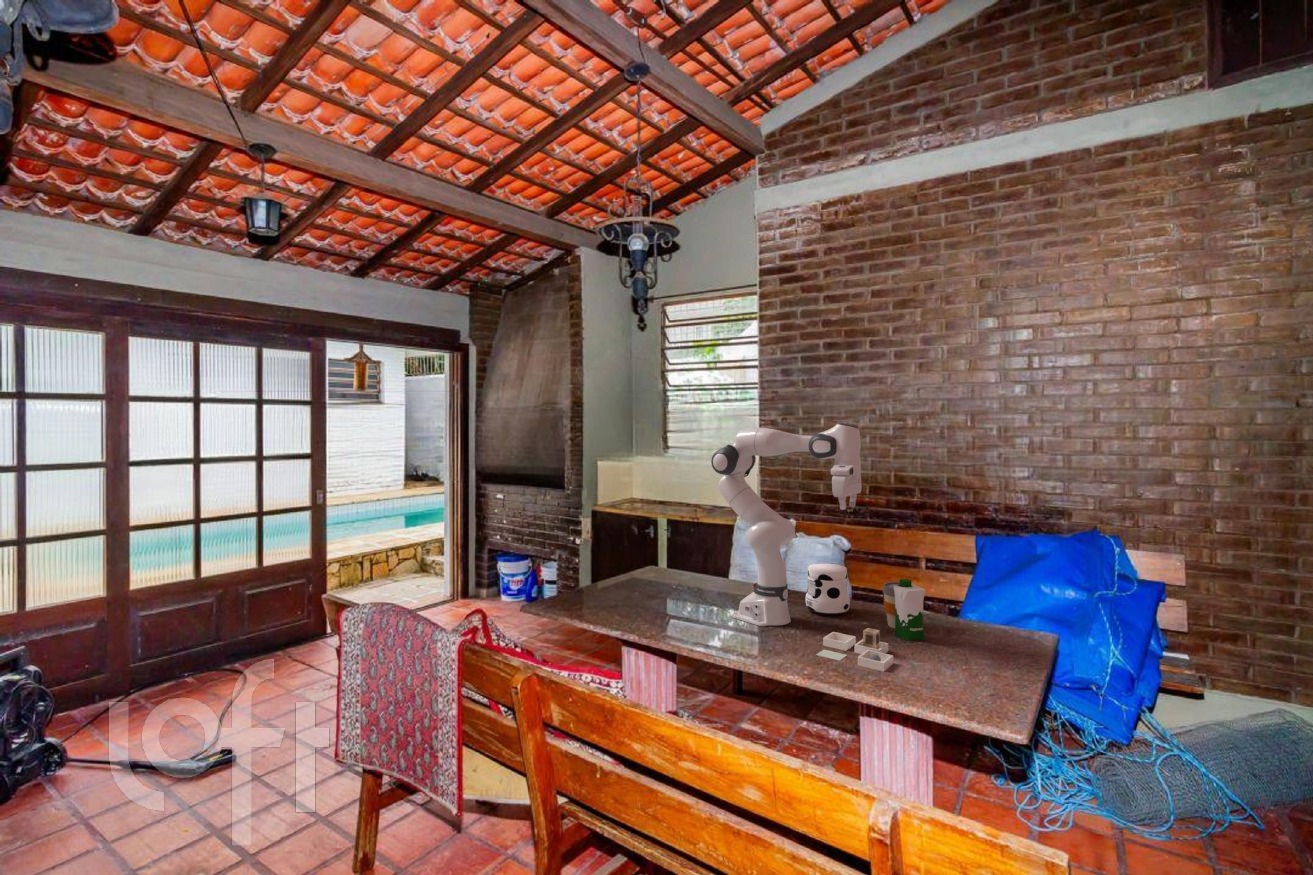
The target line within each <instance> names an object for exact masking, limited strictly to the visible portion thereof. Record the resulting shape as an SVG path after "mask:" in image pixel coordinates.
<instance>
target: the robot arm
mask: <svg viewBox="0 0 1313 875" xmlns="http://www.w3.org/2000/svg"><path fill="white" fill-rule="evenodd" d="M861 440H862V439H861V432H860V429H859V427H858V426H857V425H855V424H852V423H847V422H846V423H844V422H838V423H837V424H835V425H834V426H833V427H831V428H829V429H827V430H824V431H821V432H818V433H816V434H814V435H805V434H804V435H802V434H796V433H791V432H786V431H782V430H779V429H775V428H770V427H769V428H768V427H750V428H748V427H747V428H743V429H741V430H739V431H738V432H737V433H736V435H735V438H734V443H733V444H727V445H724V447H721V448H719V449H718V450H716V451H715V452H714V453H713V454H712V456H711V459H710V460H711V462H710V463H711V467H712V469H713V470H714V472H716V473H717V474H719V475H722V476H721V477H720V480H719V481H718V486H717V487H718V489H719V491H720V493H721V494H722V496H723V498H724V500H725V501H726V502H727V503H728V505H729V506H730V508H731V509H732V510H733V511H734V512H735V513H736V514H737V516H738V517H739V518H740V520H741V521H742V522H745V523H746V524H748V525H750V526H751V527H750V528H749V529H748V531H747V533H746V540H747V543H748V545H749V547H750V548H752V550H753V553H754V556H755V559H756V560H755V561H756V567H757V568H756V569H757V574H756V575H757V582H755V583H754V584H752V585H751V589H753V591H752V592H751V593H750V594H748V595H747V596H745V597H744V598H742V599H741V600H740V602H739V607H738V610H737V611H735V612H734V613H732V618H734V619H736V620H740V621H743V622H746V623H749V624H752V625H755V626H759V627H766V626H768V627H769V626H784V625H788V624H789V623H791V622H792V620H791V617H790V616H791V615H790V612H789V607H788V605H789V604H788V593H789V592H788V589H789V588H788V584H787V563H786V562H785V561H784V559H783V557H782V553H781V547H782V546H785V545H788V544H789V543H791V541H792V540H793V539H794V537H795V534H796V528H795V525H794V523H793V522H792V521H790V520H789V519H787V518H784V517H783V516H781V515H780V514H779V513H778V512H776V511H774V510H773V509H772V508H771V507H770V506H769V505H767V503H765V501H763V500H762V499H761V498H760V496H758V494H757V493H756V492H755V490H754V489H752V487H751V486H750V485H749V484H748V483H747V481H746V480H745V478H746V477H748V476H749V475H750V472H751V471H752V470H753V468H754V466H755V464H756V460H757V458H756V456H758V457H773V456H774V457H775V456H779V455H780V456H781V455H786V454H790V453H795V452H805V453H806V452H807V453H810V455H811V456H813V457H814V458H816V459H819V460H828V459H834V463H833V464H834V465H833V466H832V467H831V469H830V475H831V476H832V478H831V485H832V486H831V488H832V494H833V497H834V498H838V500H837V501H838V502H839V509H840V510H841V511H842V510H846V509H847V503H846V499H847V497H849V501H848V505H849V507H851V508H854V507H856V501H857V497H858V496H857V494H860V493H861V492H862V476H861V474H862V469H861V468H862V463H861V460H862V458H861V456H860V454H861V448H862V444H861Z"/></svg>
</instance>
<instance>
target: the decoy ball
mask: <svg viewBox="0 0 1313 875" xmlns="http://www.w3.org/2000/svg"><path fill="white" fill-rule="evenodd" d="M870 659H871V660H875V661H881V659H880V657H879V656H878V655H876V654H874V655H872V656H871V658H870Z"/></svg>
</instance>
